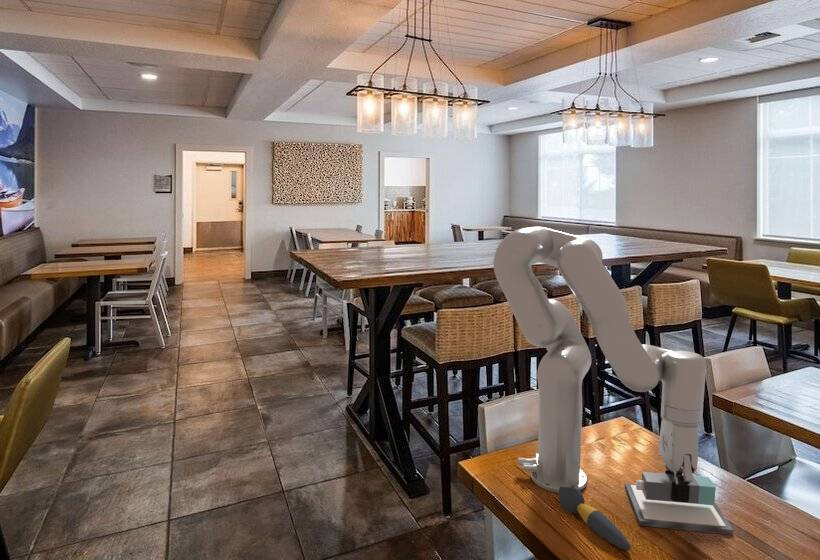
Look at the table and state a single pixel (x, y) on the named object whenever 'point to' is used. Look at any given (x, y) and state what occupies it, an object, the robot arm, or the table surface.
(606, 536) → the paintbrush
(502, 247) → the robot arm
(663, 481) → the teal-tipped grey bar
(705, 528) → the drawing board
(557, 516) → the table surface
